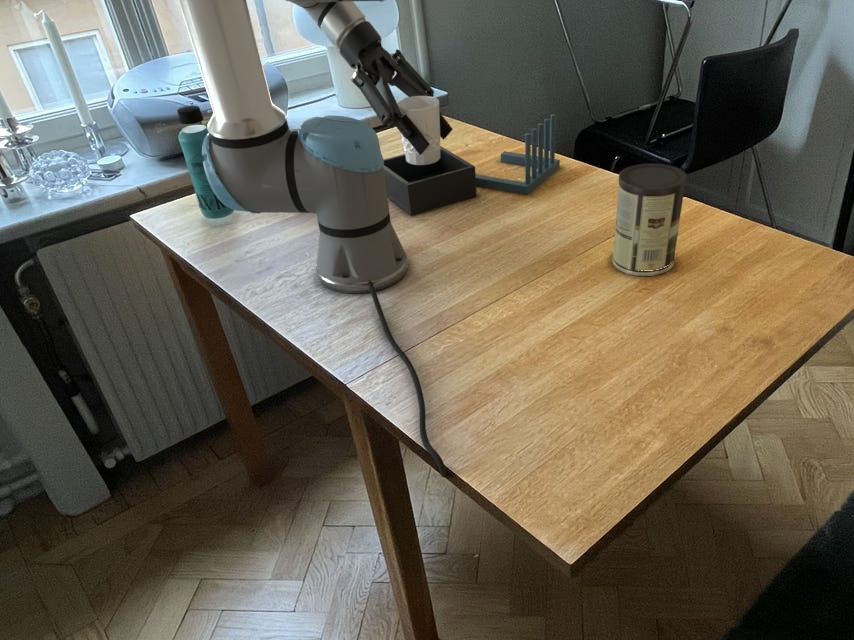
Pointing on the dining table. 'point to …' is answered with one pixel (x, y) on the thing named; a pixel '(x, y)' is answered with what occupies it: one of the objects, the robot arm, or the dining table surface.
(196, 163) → the beverage bottle
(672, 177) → the coffee can
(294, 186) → the robot arm
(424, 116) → the white cup
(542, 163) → the drying rack
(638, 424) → the dining table surface
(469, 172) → the black square tray
